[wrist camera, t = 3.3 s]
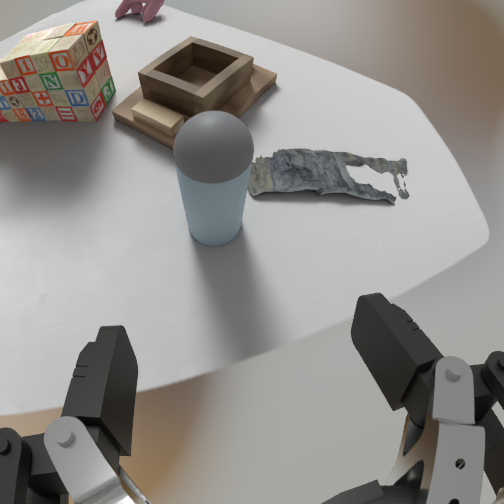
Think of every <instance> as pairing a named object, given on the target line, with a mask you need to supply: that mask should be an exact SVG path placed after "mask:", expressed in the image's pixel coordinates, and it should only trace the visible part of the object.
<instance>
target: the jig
mask: <svg viewBox="0 0 504 504" xmlns="http://www.w3.org/2000/svg"><path fill="white" fill-rule="evenodd" d="M253 59H254V57H251V56H248V55H246V54H243V53H240V52H238V51H235V50H232V49H229V48H226V47H224V46H221V45H218V44H214V43H211V42H208V41H205V40H202V39H198V38H195V37H189V38H188V39H186V40H184V41H183V42H181V43H179V44H178V45H176V46H175V47H173V48H172V49H170V50H169V51H167V52H166V53H164V54H163V55H161V56H160V57H158V58H157V59H155V60H154V61H153V62H151V63H150V64H148V65H147V66H146V67H144V68H143V69H142V70H140V71H139V72H138V75H139V80H140V84H141V87H139V88H138V89H137V90H136V91H134V92H133V93H132V94H131V95H130V96H129V97H127V98H126V99H125V100H124V101H123V102H122V103H120V104H119V105H118V106H117V107H116V108H115V109H114V110H112V113H113V116H114V118H115V120H117V121H119V122H121V123H123V124H125V125H127V126H129V127H131V128H133V129H135V130H137V131H139V132H141V133H143V134H145V135H147V136H149V137H151V138H152V139H154V140H156V141H158V142H160V143H162V144H164V145H166V146H167V147H169V148H171V149H173V146H174V140H175V137H176V135H177V133H178V131H179V130H180V128H181V127H182V125H183V124H184V123H185V122H186V121H187V120H189V119H190V118H191V117H193V116H195V115H197V114H199V113H202V112H206V111H222V112H226V113H229V114H231V115H233V116H235V117H237V118H239V117H240V116H241V115H242V114H243V113H244V112H245V111H246V110H247V109H248V108H249V107H250V106H251V105H252V104H253V103H254V102H255V101H256V100H257V99H258V98H259V97H260V96H261V95H262V94H263V93H264V92H265V91H266V90H267V89H269V88H270V87H271V86H272V85H273V84H274V83H275V82H276V77H277V74H276V73H274V72H271V71H269V70H267V69H264V68H262V67H260V66H257V65H255V64H253Z"/></svg>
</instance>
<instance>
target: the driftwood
mask: <svg viewBox="0 0 504 504" xmlns="http://www.w3.org/2000/svg"><path fill="white" fill-rule="evenodd" d="M364 164H365V165H368V166H369V167H370V168H371V169H373V170H375V171H377V172H379V173H381V174H382V173H384V172H389V173H391V174H392V175H393V176H394V182H395V184H396V187H397V189H398V188H401V187H400V186H399V180H398V178H397V174H399V173H400V174H401V176H402V178H403V177H404V176H403V175H402V174H404V175H406V172H407V170H406V169H407V161H406V159H404V158H402V159H400V160H399V161H387V160H386V159H384V158H377V159H375V158H372V157H371V158H364V157H360V156H357V155H353V154H350V153H347V152H330V151H326V150H322V151H321V150H319V151H318V150H317V151H312V150H309V149H288V150H284V149H282V150H278V151H277V153H276V152H274V153H273V157H272V158H270V157H265V158H262V156H261V157H260V158H256V163H252V165H251V170H250V176H249V181H248V188H249V192H250V193H251V195H253V196H256V195H258V194H260V193H263V192H266V191H268V192H273V191H278V192H279V191H280V192H292V191H300V190H305V189H311V190H316V191H317V195H323V194H325V193H334V192H336V193H347V194H350V195H353V196H357V197H360V198H365V199H372V200H378V199H382V198H383V199H388V200H389V201H390V202H391V203H392V204H393V205H395V204H394V201H395V200H396V197H394V196H393V195H392V194H389V193H386V191H382V192H381V191H378V190H377V189H374V188H373V187H372V185H370V184H367V185H366V184H359V183H357V182H355V180H354V179H352V178H351V177H350V175H349V173H348V171H347V169H346V166H347V165H351V166H360V165H364ZM406 176H407V175H406ZM404 182H405V181H404ZM404 186H405V183H404ZM398 192H399V196H400V197H401V198H402V199H407V198H408V197H409V193H408V192H407V190H406V189H405V193H404V191H403V190H402V189H400V190H399V189H398Z"/></svg>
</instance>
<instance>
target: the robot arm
mask: <svg viewBox="0 0 504 504" xmlns="http://www.w3.org/2000/svg"><path fill="white" fill-rule="evenodd" d="M351 337H352V341H353V344H354V346H355V347H356V349H357V351H358V352H359V354H360V356H361V357H362V359H363V361H364V362H365V364H366V365H367V367H368V369H369V371H370V372H371V374H372V376H373V377H374V379H375V381H376V382H377V384H378V386H379V388H380V389H381V391H382V393H383V394H384V396H385V397H386V399H387V401H388V403H389V405H390V407H391V408H392V410H393V411H395V410H397V409H400V408H402V407H405V408H406V410H407V412H408V414H407V416H406V420H405V426H404V431H403V435H402V440H401V445H400V449H399V453H398V457H397V461H396V463H395V465H394V467H393V469H392V471H391V473H390V475H389V477H388V479H387V482H386V485H385V486H380V485H379V483H378V480H375V481H372V482H369V483H367V484H364V485H361V486H359V487H356V488H353V489H350V490H347V491H344V492H341V493H340V494H338V495H336V496H334V497H333V498H331V499H329V500H327V501H326V502H324V503H322V504H479V503H480V496H481V488H482V480H483V469H484V471H485V473H486V475H487V477H488V479H489V481H490V483H491V485H492V487H493V489H494V492H495V494H496V496H497V497H496V500H495V501H494V502H493V503H492V504H504V428H503V426H502V424H501V423H500V421H499V420H498V418H497V416H496V415H495V414H494V412H493V410H492V409H491V408H492V407H493V405H494V404H495V403H496V402H497V401H498V402H499V403H500V405H501V407H502V408H503V410H504V352H501V351H495V352H492V353H491V354H490V355H489V357H488V358H487V360H486V362H485V363H484V364H479V365H471V366H469V365H468V364H467V363H466V362H465V361H463V360H462V359H460V358H457V357H452V356H448V357H444V356H443V355H442V354H441V353H440V352H439V350H438V349H437V348H436V347H435V345H434V344H433V343H432V342H431V341H430V339H429V338H428V337H427V336H426V335H425V334H424V332H423V331H422V330H421V329H419V327H418V325H417V324H416V323H415V322H413V319H412V318H411V317H410V316H409V315H408V314H407V313H406V311H405V310H403V309H401V308H400V307H398V306H396V305H395V304H390V303H389V301H388V300H387V299H386V298H385V297H384V296H383V295H382V294H381V293H373V294H368V295H362V296H360V297H359V298H358V301H357V305H356V310H355V314H354V319H353V323H352V327H351ZM137 379H138V365H137V360H136V356H135V354H134V351H133V349H132V346H131V344H130V341H129V338H128V335H127V333H126V330H125V328H124V326H122V325H119V326H102V327H100V329H99V332H98V335H97V338H96V341H95V342H89V343H88V344H87V345H86V346H85V347H84V349H83V350H82V351H81V352H80V354H79V357H78V360H77V363H76V368H75V369H74V372H73V378H72V379H71V382H70V386H69V389H68V392H67V396H66V400H65V403H64V407H63V411H62V414H61V417H60V418H57V419H55V420H54V421H53V422H52V423H50V424H49V426H48V427H47V429H46V431H45V433H42V434H37V435H32V436H25V437H21V436H20V435H19V434H18V433H17V432H16V431H15V430H13V429H11V428H1V429H0V504H68V496H69V494H70V496H71V498H72V499H73V501H74V503H75V504H152V503H151V502H150V501H149V500H148V499H147V498H146V497H145V495H144V494H143V493H142V492H141V491H140V489H139V488H138V487H137V486H136V485H135V483H134V482H133V481H132V480H131V478H130V477H129V476H128V475H127V473H126V472H125V471H124V469H123V468H122V467H121V465H120V464H119V456H131V442H132V428H133V416H134V405H135V396H136V387H137ZM27 489H28V491H27ZM26 500H27V503H26Z"/></svg>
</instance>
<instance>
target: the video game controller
mask: <svg viewBox="0 0 504 504" xmlns="http://www.w3.org/2000/svg"><path fill="white" fill-rule="evenodd" d="M142 3H146V5H145V6H144V7H143V5H142ZM163 3H164V0H123V1H122V3H121V4H120V6H119V7H118V9H117V10H116V13H115V17H116V18H121V17H122V16H124V15H125V14H126V13H127V12H128V11H129V9H130V8H131V11H132V13H133V14H138V13H141V12H142V14H143V22H144V23H148V22H149V21H151V20H152V19H153V18H154V17H155V15H156V14H157V13H158V11H159V9H160V7H161V6H162V5H163Z"/></svg>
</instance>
